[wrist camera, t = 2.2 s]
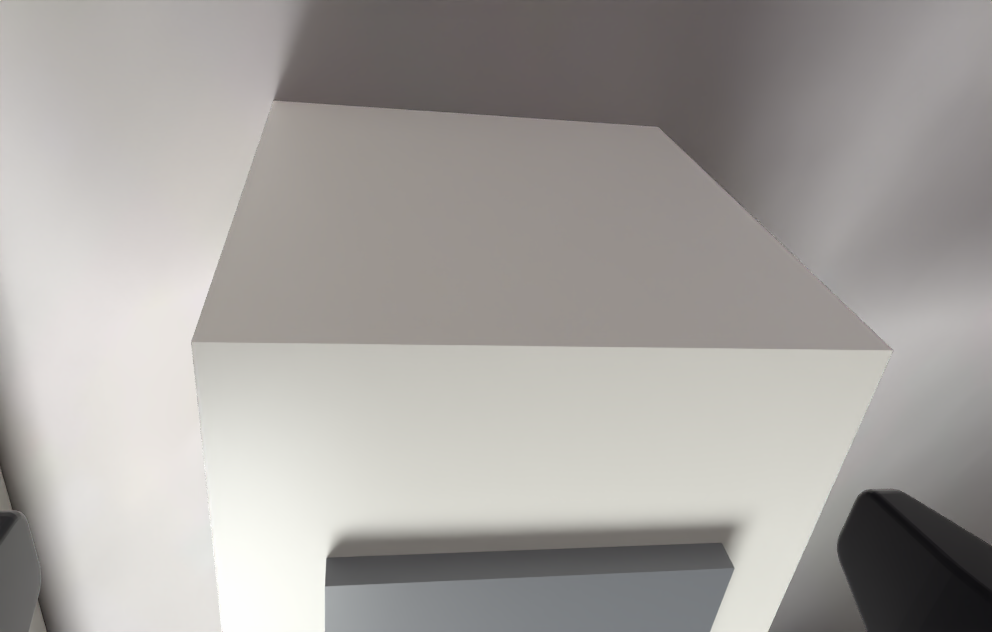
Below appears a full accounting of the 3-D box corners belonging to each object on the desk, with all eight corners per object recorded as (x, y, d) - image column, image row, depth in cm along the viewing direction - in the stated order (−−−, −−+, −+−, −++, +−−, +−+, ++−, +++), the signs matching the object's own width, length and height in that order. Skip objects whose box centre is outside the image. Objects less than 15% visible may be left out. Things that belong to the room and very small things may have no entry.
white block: (654, 123, 9) (917, 371, 5) (565, 532, 13) (671, 889, 9) (273, 97, 9) (182, 367, 4) (288, 542, 12) (248, 942, 8)
